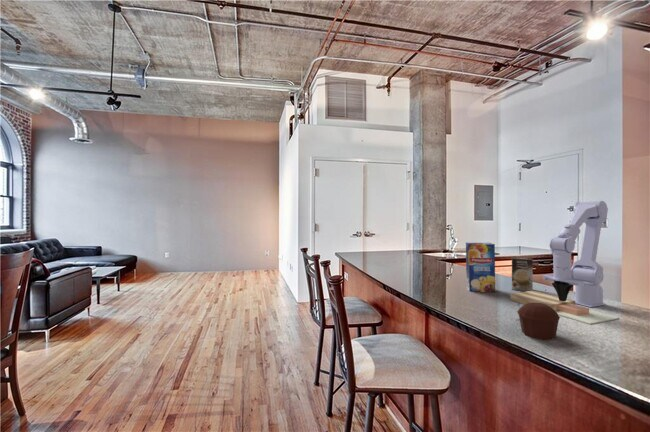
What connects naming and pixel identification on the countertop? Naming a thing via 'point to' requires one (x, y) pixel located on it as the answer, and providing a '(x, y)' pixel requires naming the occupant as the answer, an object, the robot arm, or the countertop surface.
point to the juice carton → (480, 267)
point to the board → (539, 299)
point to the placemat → (589, 317)
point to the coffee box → (522, 274)
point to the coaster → (573, 309)
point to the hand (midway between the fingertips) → (562, 300)
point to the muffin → (538, 321)
